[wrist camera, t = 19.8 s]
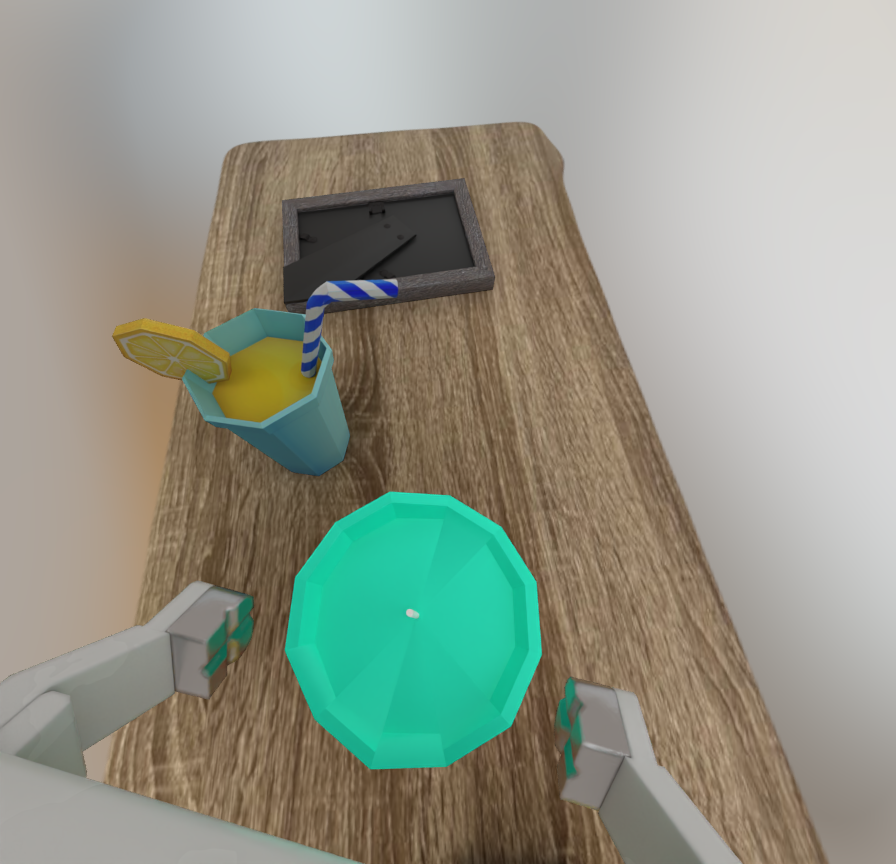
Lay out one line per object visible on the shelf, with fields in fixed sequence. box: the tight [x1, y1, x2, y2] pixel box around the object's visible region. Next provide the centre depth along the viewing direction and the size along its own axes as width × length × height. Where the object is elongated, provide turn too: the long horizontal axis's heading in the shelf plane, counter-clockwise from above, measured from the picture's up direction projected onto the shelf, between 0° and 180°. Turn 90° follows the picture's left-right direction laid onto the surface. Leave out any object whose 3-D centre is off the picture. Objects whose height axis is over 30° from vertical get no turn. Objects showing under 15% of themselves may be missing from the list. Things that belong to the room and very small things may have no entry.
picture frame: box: [282, 178, 495, 315], centre depth 39 cm, size 13×2×18 cm
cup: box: [112, 279, 398, 476], centre depth 25 cm, size 14×8×15 cm, turn 104°
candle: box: [285, 492, 542, 769], centre depth 14 cm, size 6×6×12 cm
